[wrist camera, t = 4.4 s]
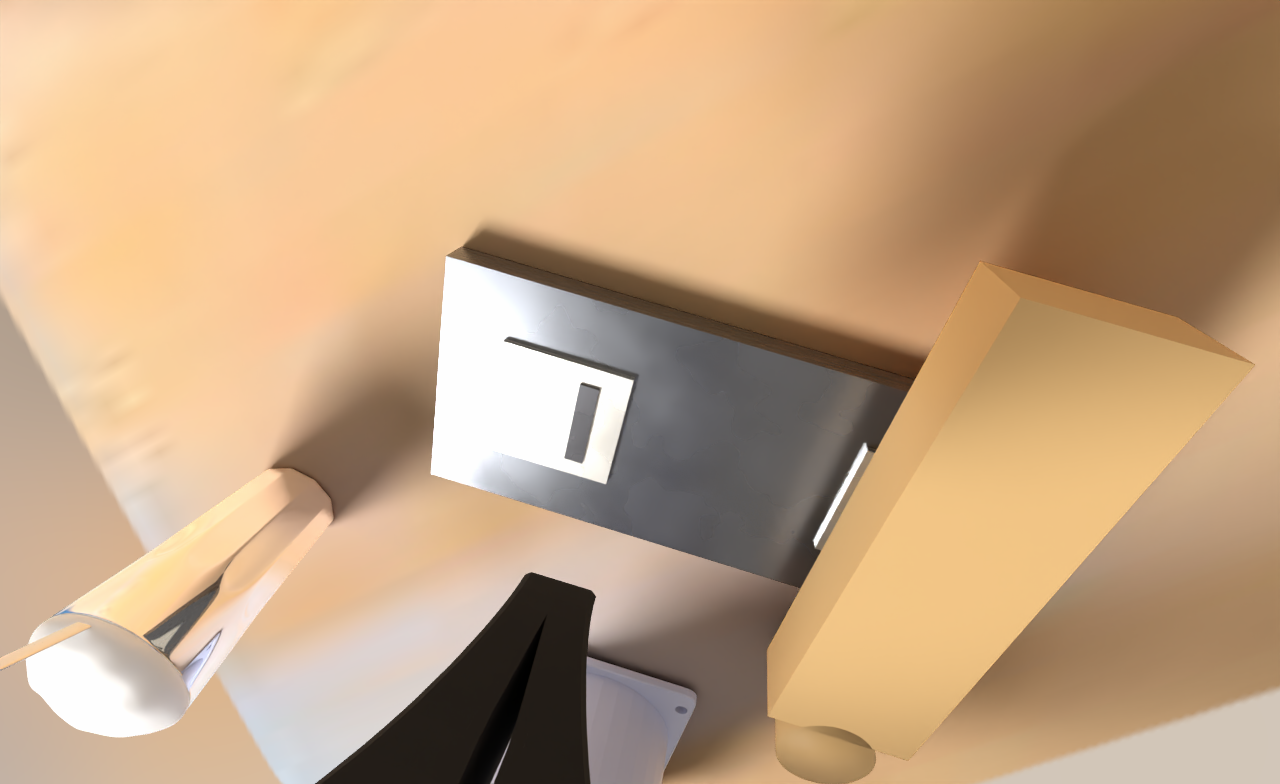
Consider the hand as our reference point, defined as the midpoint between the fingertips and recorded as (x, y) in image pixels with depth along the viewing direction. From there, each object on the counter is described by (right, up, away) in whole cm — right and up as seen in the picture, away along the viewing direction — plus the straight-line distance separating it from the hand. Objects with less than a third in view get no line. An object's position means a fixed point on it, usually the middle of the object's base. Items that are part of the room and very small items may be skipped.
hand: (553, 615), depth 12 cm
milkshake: (-12, +1, +12) cm, 17 cm away
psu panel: (+5, +2, +8) cm, 9 cm away
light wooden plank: (+9, 0, +6) cm, 11 cm away
